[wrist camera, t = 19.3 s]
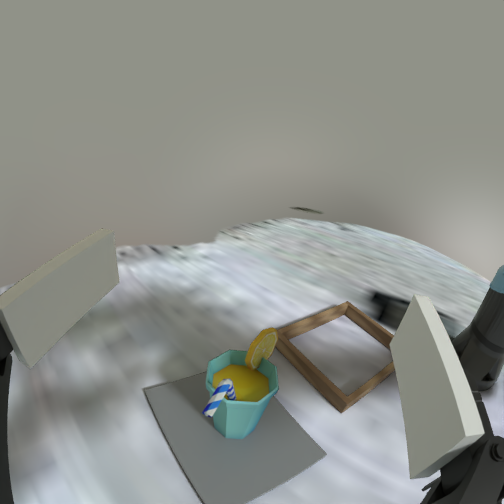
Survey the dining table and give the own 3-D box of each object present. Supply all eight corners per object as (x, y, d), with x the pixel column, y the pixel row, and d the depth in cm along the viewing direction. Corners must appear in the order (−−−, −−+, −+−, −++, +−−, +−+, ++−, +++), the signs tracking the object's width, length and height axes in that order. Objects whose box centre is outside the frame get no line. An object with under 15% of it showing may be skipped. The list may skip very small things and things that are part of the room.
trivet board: (242, 362, 42) (242, 358, 42) (324, 456, 28) (327, 454, 27) (145, 393, 34) (144, 389, 33) (213, 517, 19) (213, 516, 19)
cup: (237, 482, 23) (256, 430, 17) (177, 455, 25) (161, 387, 19) (277, 400, 35) (304, 320, 29) (226, 381, 37) (236, 298, 31)
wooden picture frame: (344, 310, 58) (347, 301, 57) (406, 358, 45) (412, 349, 44) (270, 341, 47) (273, 331, 46) (341, 413, 34) (347, 404, 33)
